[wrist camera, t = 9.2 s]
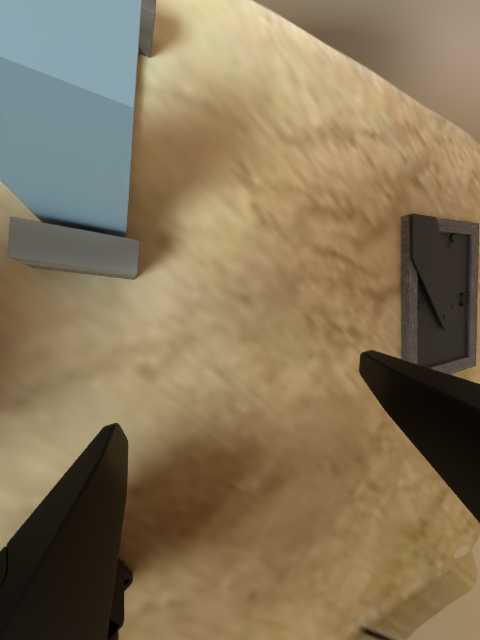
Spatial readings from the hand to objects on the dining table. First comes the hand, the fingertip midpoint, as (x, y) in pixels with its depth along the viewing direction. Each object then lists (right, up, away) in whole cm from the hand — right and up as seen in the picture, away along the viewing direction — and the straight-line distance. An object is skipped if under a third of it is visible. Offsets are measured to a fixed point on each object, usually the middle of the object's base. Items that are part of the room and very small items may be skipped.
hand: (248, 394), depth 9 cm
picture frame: (+27, +6, +27) cm, 38 cm away
